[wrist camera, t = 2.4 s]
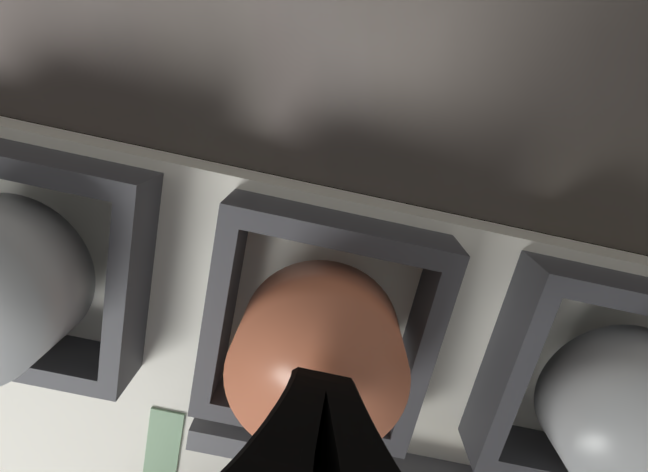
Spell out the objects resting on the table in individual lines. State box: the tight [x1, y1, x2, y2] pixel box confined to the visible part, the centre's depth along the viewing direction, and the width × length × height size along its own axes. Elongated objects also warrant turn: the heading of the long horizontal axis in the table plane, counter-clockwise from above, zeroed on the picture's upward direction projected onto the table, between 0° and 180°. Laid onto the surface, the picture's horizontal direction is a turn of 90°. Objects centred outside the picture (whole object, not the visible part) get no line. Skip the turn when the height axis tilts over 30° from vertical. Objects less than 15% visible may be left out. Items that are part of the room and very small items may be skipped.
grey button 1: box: [534, 325, 648, 472], centre depth 13 cm, size 5×5×2 cm
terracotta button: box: [223, 260, 411, 438], centre depth 13 cm, size 5×5×2 cm
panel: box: [0, 116, 648, 472], centre depth 16 cm, size 14×32×4 cm, turn 78°
